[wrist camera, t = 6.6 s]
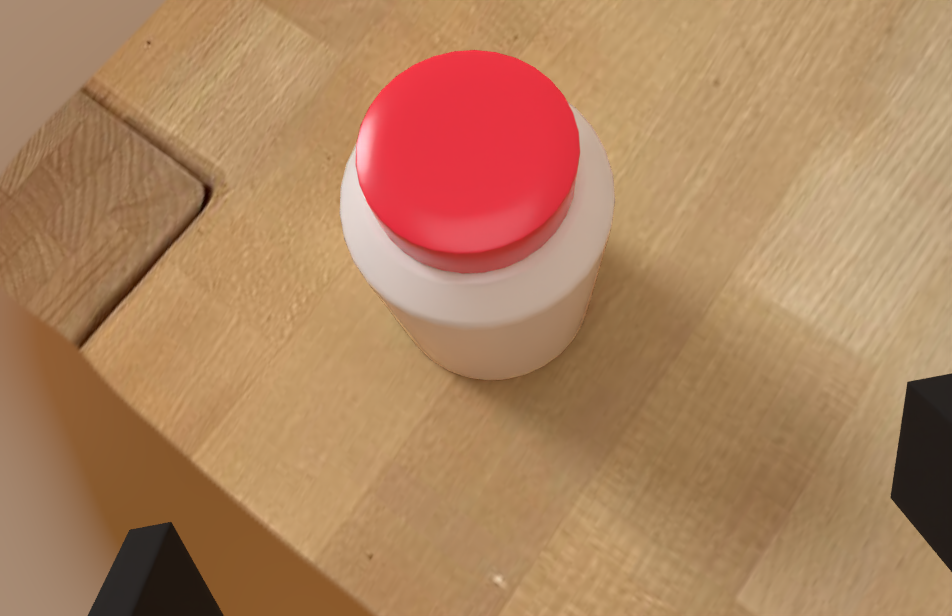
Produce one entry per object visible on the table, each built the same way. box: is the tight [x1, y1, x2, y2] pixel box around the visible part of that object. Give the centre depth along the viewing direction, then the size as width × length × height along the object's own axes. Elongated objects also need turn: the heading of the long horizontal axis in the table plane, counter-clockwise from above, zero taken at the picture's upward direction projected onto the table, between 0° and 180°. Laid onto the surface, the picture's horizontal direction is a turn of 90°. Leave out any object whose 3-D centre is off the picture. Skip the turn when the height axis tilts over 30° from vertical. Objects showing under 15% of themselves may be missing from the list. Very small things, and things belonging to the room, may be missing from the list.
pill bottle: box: [340, 50, 615, 380], centre depth 22 cm, size 8×8×11 cm
